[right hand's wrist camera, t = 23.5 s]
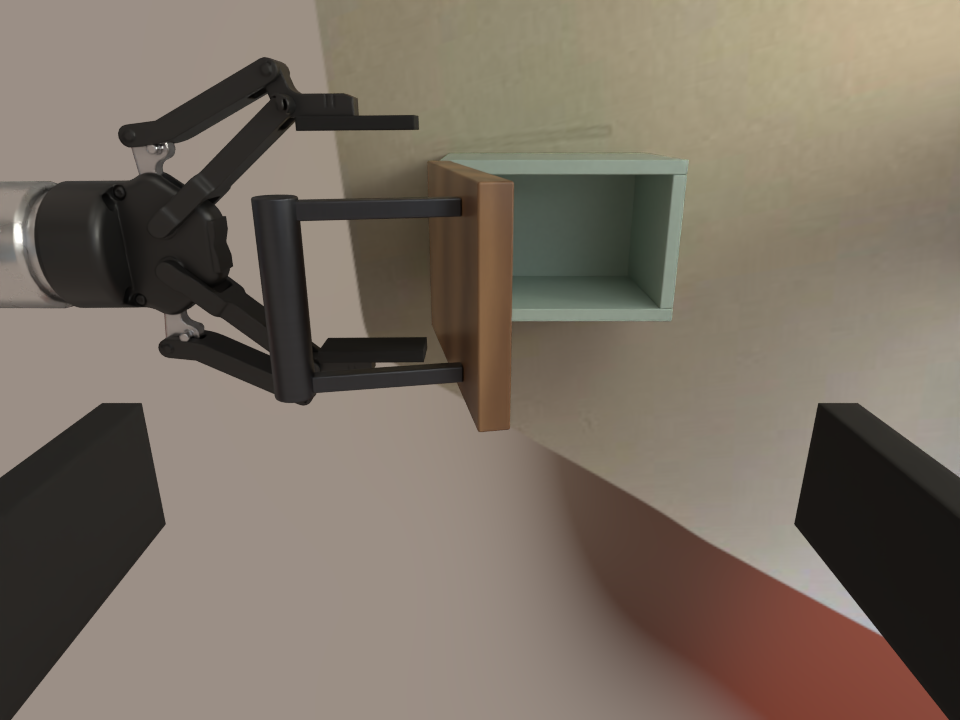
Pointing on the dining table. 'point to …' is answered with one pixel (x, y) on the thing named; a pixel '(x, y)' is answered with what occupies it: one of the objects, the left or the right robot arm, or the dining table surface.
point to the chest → (591, 233)
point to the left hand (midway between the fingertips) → (422, 242)
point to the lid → (454, 289)
